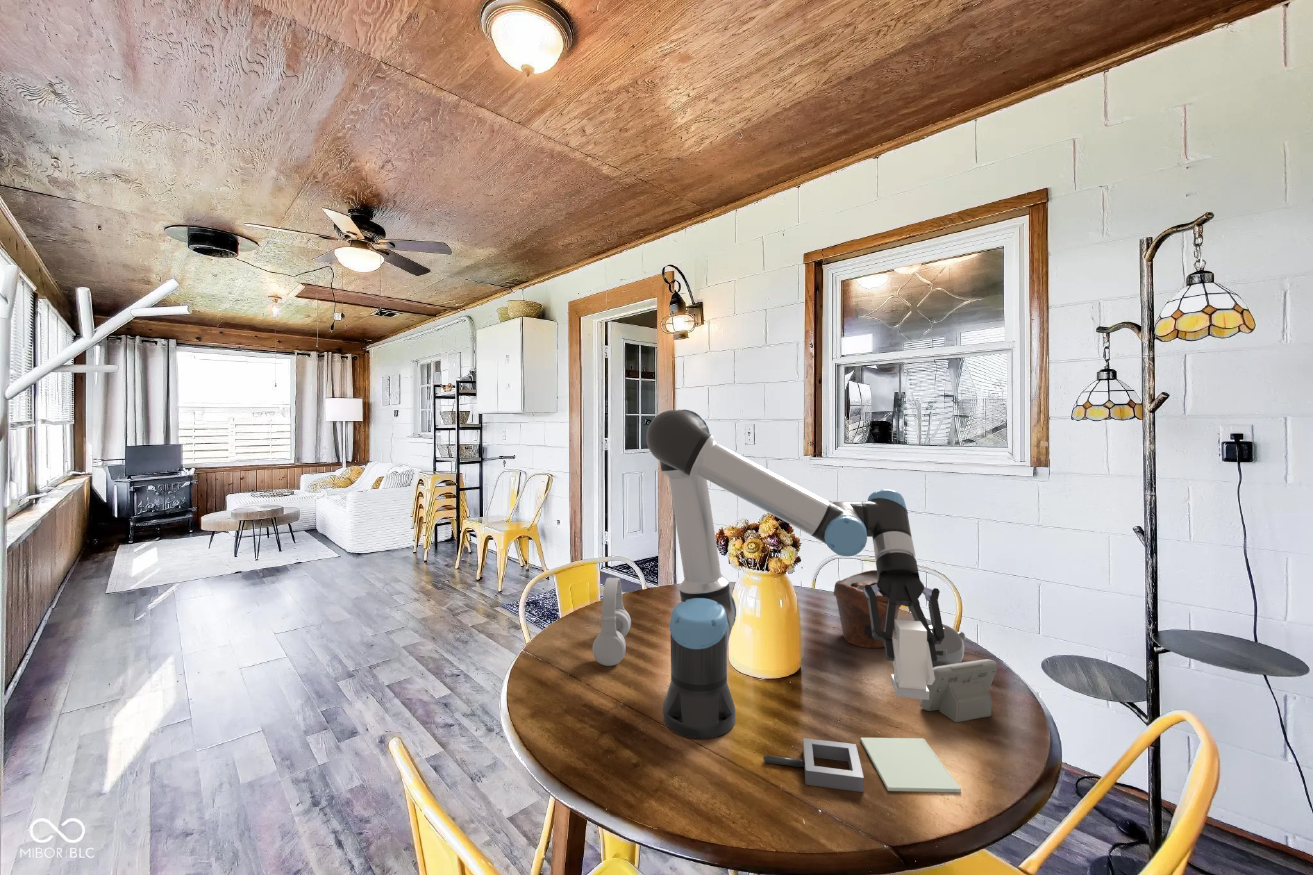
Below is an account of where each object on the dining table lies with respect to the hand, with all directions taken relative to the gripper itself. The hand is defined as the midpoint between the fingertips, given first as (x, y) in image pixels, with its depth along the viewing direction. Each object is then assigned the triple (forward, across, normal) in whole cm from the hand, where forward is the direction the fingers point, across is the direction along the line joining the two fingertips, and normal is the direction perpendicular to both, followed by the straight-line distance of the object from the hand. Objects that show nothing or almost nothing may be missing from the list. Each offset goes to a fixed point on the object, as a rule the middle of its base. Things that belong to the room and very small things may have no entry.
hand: (914, 680), depth 94 cm
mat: (+10, 0, -15) cm, 18 cm away
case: (-29, -1, -54) cm, 61 cm away
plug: (0, 0, -5) cm, 5 cm away
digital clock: (-5, -14, -31) cm, 34 cm away
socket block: (+13, +17, -12) cm, 25 cm away
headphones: (-15, +66, -40) cm, 79 cm away
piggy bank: (-18, -14, -43) cm, 49 cm away
